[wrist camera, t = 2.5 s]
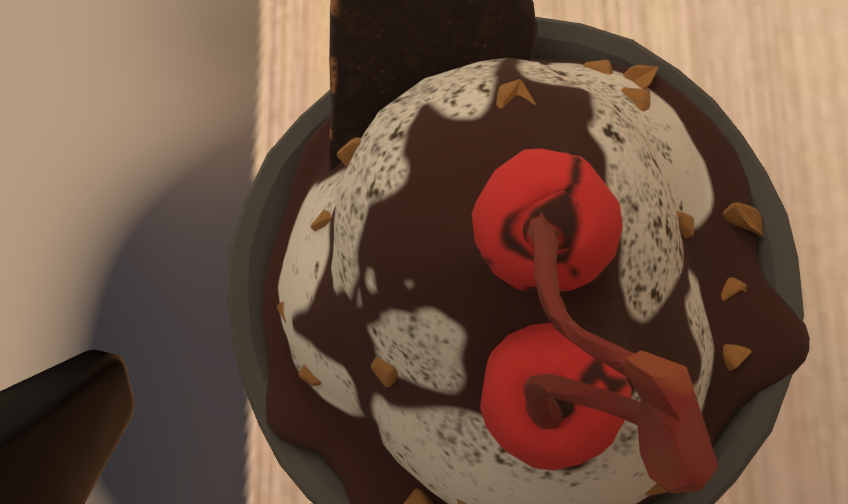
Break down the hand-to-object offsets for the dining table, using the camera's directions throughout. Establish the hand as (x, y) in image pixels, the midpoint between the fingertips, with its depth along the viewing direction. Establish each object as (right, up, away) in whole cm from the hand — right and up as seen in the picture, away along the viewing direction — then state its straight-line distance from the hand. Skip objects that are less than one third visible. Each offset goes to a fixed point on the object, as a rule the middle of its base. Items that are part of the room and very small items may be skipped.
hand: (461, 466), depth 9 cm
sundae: (+2, 0, +10) cm, 10 cm away
